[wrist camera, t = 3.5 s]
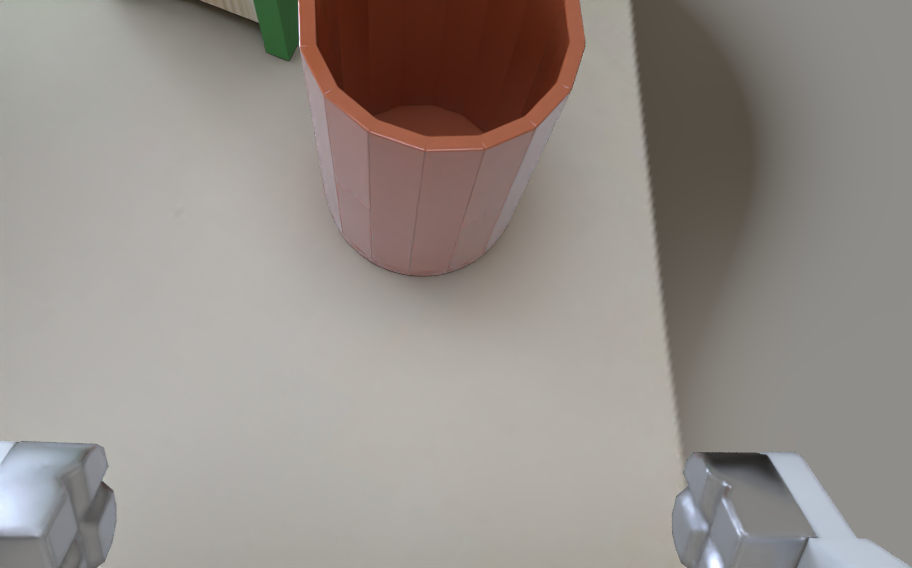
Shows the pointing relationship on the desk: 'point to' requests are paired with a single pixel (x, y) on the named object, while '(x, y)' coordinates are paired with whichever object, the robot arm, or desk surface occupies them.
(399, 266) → the cup
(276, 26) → the hardback book
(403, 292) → the desk surface
